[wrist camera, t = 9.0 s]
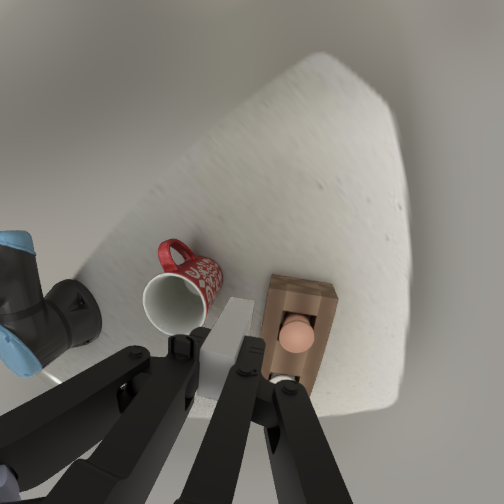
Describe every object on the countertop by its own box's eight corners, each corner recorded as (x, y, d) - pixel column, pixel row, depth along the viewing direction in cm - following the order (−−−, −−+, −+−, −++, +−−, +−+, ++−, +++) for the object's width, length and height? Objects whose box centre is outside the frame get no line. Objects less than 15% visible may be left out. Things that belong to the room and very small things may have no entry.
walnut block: (252, 381, 51) (247, 404, 44) (272, 274, 46) (268, 287, 39) (303, 389, 50) (304, 412, 43) (332, 284, 45) (338, 299, 38)
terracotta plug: (278, 329, 44) (276, 350, 38) (284, 302, 43) (282, 319, 37) (307, 333, 44) (309, 355, 37) (314, 306, 43) (317, 325, 36)
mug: (234, 298, 48) (214, 335, 35) (185, 305, 50) (153, 339, 36) (217, 225, 46) (189, 237, 33) (168, 236, 47) (127, 251, 34)
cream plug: (268, 374, 49) (264, 396, 42) (272, 353, 48) (270, 375, 41) (293, 378, 48) (293, 401, 42) (299, 358, 47) (300, 379, 41)
